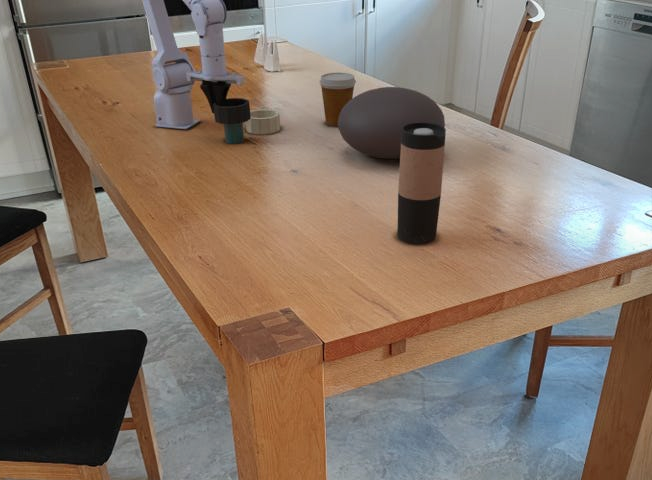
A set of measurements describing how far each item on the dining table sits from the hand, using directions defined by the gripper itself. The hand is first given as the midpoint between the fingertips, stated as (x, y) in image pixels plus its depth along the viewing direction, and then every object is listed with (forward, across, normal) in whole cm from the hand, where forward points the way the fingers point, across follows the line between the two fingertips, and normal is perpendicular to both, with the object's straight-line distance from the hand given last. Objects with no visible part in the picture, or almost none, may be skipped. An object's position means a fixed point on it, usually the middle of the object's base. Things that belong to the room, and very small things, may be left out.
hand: (218, 112), depth 179 cm
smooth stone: (+7, +44, +2) cm, 45 cm away
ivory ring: (+7, +7, +11) cm, 15 cm away
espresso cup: (+7, +4, 0) cm, 8 cm away
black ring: (+1, +4, 0) cm, 4 cm away
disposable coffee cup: (+7, +24, +22) cm, 33 cm away
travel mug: (+7, +61, -41) cm, 74 cm away
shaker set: (+7, -19, +74) cm, 77 cm away
